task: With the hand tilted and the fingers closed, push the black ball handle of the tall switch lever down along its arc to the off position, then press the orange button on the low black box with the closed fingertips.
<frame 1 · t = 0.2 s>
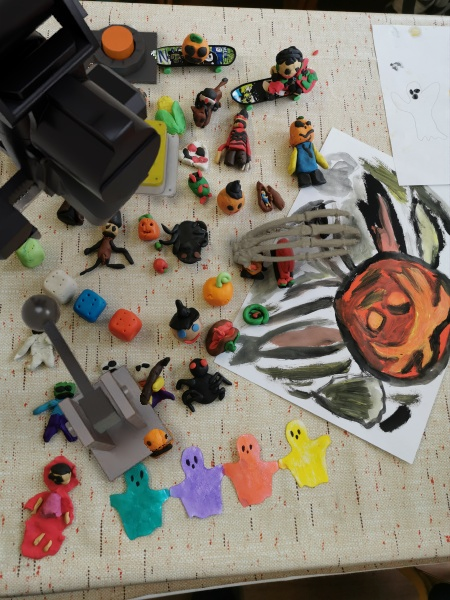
hand: (69, 202, 55), 14 cm above the table, tool pointing down, fingers open, 9 cm apart
switch bracket: (118, 422, 63), on the table
emergency button: (119, 162, 72), on the table
orange button: (117, 43, 74), point 3 cm above the table, slide at 0.1 cm
button box: (120, 58, 77), on the table
skeletal hand: (296, 245, 71), on the table
switch lever: (68, 357, 51), point 13 cm above the table, hinge at -15.0°
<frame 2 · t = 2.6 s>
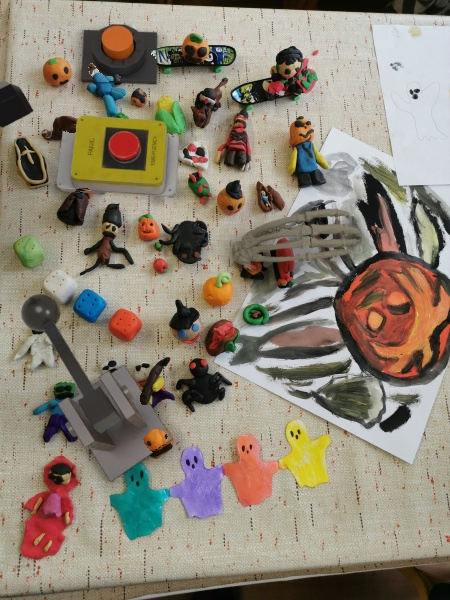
nothing on the table moved.
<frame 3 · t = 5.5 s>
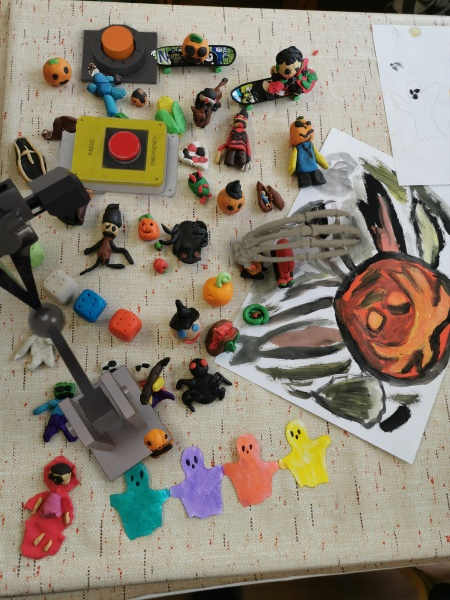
hand: (37, 306, 54), 12 cm above the table, tool tilted 45°, fingers closed
switch lever: (70, 361, 52), point 13 cm above the table, hinge at -22.2°, touching gripper
everything else where it was.
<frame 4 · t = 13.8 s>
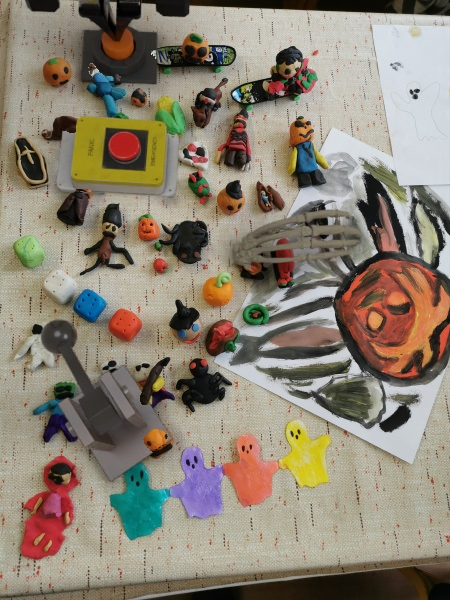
hand: (117, 38, 73), 4 cm above the table, tool pointing down, fingers closed, pressing on orange button
orange button: (117, 43, 74), point 3 cm above the table, slide at 0.1 cm, touching gripper
switch lever: (77, 369, 53), point 11 cm above the table, hinge at -35.5°
everything else where it was.
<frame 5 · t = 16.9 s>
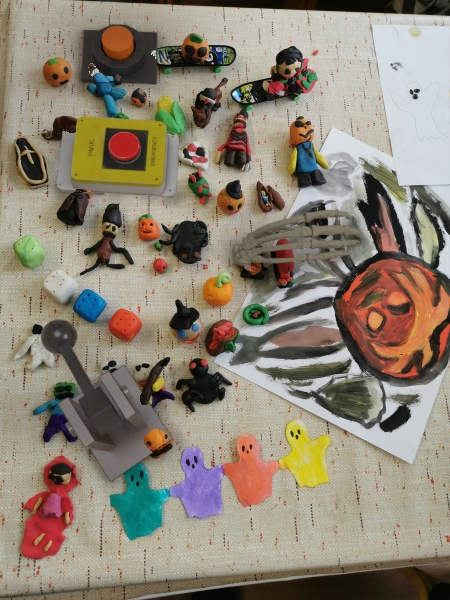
orange button: (117, 43, 74), point 3 cm above the table, slide at 0.1 cm
everything else where it was.
at the end: switch lever at -36° (first picture: -15°); orange button pushed in 1.1 cm at the most during the clip, back to where it started at the end; orange button slide at 0.1 cm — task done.
